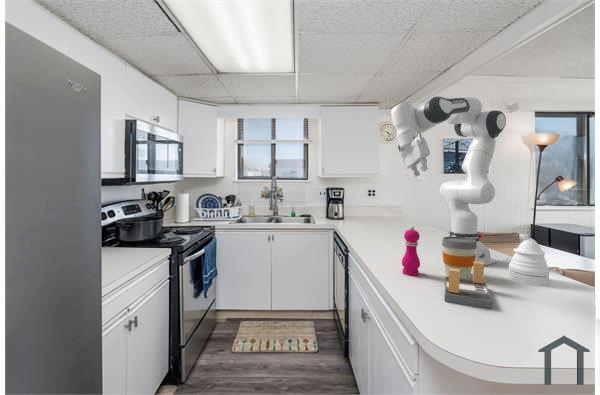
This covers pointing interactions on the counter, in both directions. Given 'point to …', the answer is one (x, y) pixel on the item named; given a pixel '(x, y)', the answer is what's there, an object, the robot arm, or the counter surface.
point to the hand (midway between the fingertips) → (421, 173)
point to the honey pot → (529, 264)
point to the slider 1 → (454, 280)
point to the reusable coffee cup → (459, 255)
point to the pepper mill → (411, 253)
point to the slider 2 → (478, 272)
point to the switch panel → (469, 294)
